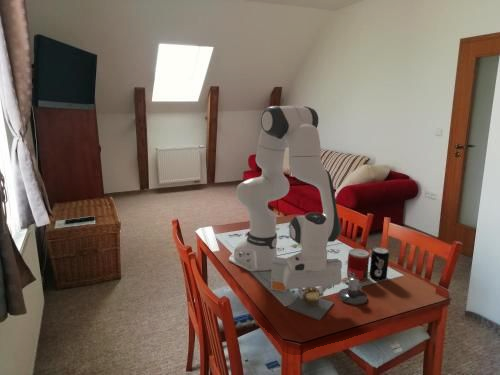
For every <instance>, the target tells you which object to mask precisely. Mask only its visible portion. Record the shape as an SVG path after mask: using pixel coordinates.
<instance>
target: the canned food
mask: <svg viewBox="0 0 500 375" xmlns="http://www.w3.org/2000/svg"><path fill="white" fill-rule="evenodd" d="M369 262H370V252H369V251H367V250H365V249H362V248H351V249H349V250H348V255H347V269H346V275H347V278H348V279H349V277H357V278H359V282H364V281H367V279H368V275H369V274H368V273H369V272H368V271H369V265H370V263H369Z"/></svg>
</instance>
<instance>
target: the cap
mask: <svg viewBox="0 0 500 375" xmlns="http://www.w3.org/2000/svg"><path fill="white" fill-rule="evenodd" d="M303 292H304V293H305V298H304V301H305V302H306V303H307V304H311V305H315V304H318V303H319V292H320V289H319V288H318V287H307V288H303Z"/></svg>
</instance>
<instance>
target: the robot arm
mask: <svg viewBox="0 0 500 375" xmlns="http://www.w3.org/2000/svg"><path fill="white" fill-rule="evenodd" d="M260 122H261V123H260V125H261V129H260V130H261V131H260V135H259V138H258V143H257V149H256V155H255V163H256V164H257V167H259V168H260V169H261V175H260V176H258V177H252V178H248V179H246V180H244V181H242V182H240V183H239V184H237V187H236V190H235V191H236V192H235V194H236V197H237V200H238V202H240V204H241V205H242V206H244V207H245V209H246V210H247V212H248V215H249V231H247V233H244V237H246V239H244V240H243V241H241V242H239V243H238V244H237V245H236V246H235V248H234V251H233V253H232V254H230V256H229V257H228V261H229V262H230V263H232V264H234V265H236V266H239V267H241V268H242V269H245V270H247V271H248V272H251V273H252V272H257V271H261V272H262V271H272V260H273V259H274V257H278V253H277V243H278V234H277V216H276V215H275V213H274V212H273V211H271V210H269V209H270V208H269V205H268V204H269V203H270V202H273V201H277V200H280V199H282V198H284V197H285V196H287V195H288V193H289V191H290V181H289V179H288V177H286V176H285V174H284V169H283V168H284V158H285V154H286V149H287V144H288V165H289V171H290V173H291V175H293V177H295V178H296V179H297V180H299V181H302V182H305V183H306V184H309V185H312V186H314V187H316V188H317V190H318V191H319V194H320V201H321V205H322V213H320V212H315V211H314V212H312V211H311V212H308V213H305V215H297V216H294V217H293V218H292V219H291V221H290V223H289V227H288V228H289V230H288V232H289V236H290V237H289V238H290V239H291V240H293V241H294V242H295V243H297V244H298V245H301V249H300V252H299V253H295V254H294V255H291V256H288V257H286V259H287V264H288V265H287V266H286V267H285V270H284V275H283V284H284V286H285V287H286V288H287V290H293V289H295V290H296V289H297V290H298V291H299V296H300V298H301V299H303V298H305V293H304V289H305V288H307V287H316V288H318V287H320V289H319V290H320V292H319V297H320V298H323V297H324V295H325V294H324V293H325V292H326V290H327V289H328V287H329V286H338V285H340V284H341V283H342V267H343V262H342V260H341V259H339V258H328V250H327V246H328V243H332V242H335V241H336V240H337V239H339V237H340V235H341V233H342V224H341V221H340V217H339V213H338V210H337V209H338V208H337V202H336V196H335V195H336V194H335V191H334V183H333V180H332V176H331V173H330V172H329V171H328V170H327V169H325V167H324V165H323V163H322V156H321V155H322V154H321V153H322V150H321V149H322V147H321V139H320V133H319V130H318V127H319V115H318V113H317V111H316V110H315V109H314V108H312V107H309V106H301V105H294V104H293V105H292V104H291V105H281V106H279V105H273V106H269V107H267V108H266V109H264V111H263V112H262V115H261V119H260ZM287 142H288V143H287Z"/></svg>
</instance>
